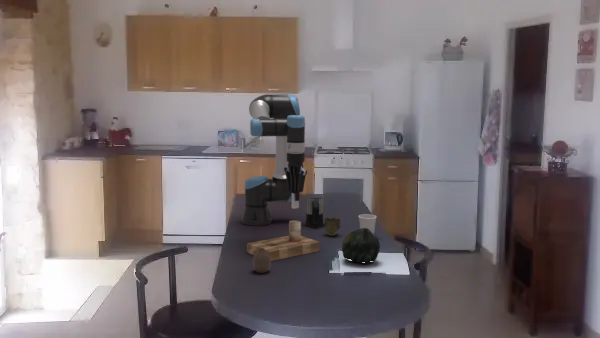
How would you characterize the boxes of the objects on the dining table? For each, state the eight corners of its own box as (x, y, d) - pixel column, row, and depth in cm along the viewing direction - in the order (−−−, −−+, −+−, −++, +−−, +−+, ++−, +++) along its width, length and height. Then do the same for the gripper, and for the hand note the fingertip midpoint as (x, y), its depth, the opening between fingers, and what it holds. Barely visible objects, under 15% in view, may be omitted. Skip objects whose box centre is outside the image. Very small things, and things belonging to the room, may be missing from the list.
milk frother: (302, 224, 316) (302, 195, 313) (330, 221, 321) (331, 193, 319) (313, 230, 302) (313, 200, 300) (343, 227, 308) (343, 198, 306)
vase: (252, 268, 239) (252, 246, 238) (270, 268, 240) (270, 246, 239) (252, 274, 233) (252, 251, 231) (271, 274, 233) (271, 251, 232)
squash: (341, 241, 260) (343, 220, 248) (377, 243, 259) (381, 222, 248) (340, 271, 250) (343, 251, 239) (378, 273, 250) (382, 253, 239)
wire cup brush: (338, 238, 288) (339, 220, 287) (322, 237, 289) (323, 220, 288) (340, 234, 295) (341, 217, 294) (325, 233, 297) (325, 216, 296)
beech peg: (286, 248, 268) (286, 221, 266) (295, 246, 271) (296, 220, 269) (293, 250, 264) (293, 223, 262) (303, 248, 267) (303, 222, 265)
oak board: (247, 252, 262) (247, 243, 261) (296, 243, 278) (296, 234, 277) (269, 261, 250) (269, 251, 249) (319, 250, 266) (319, 241, 265)
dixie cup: (363, 234, 296) (364, 213, 294) (379, 236, 291) (380, 215, 289) (354, 237, 289) (355, 216, 287) (370, 240, 284) (371, 218, 283)
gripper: (279, 151, 264) (278, 206, 268) (298, 154, 254) (297, 211, 257) (293, 150, 269) (292, 204, 272) (312, 153, 259) (311, 209, 262)
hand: (295, 208), depth 265 cm, fingers closed
